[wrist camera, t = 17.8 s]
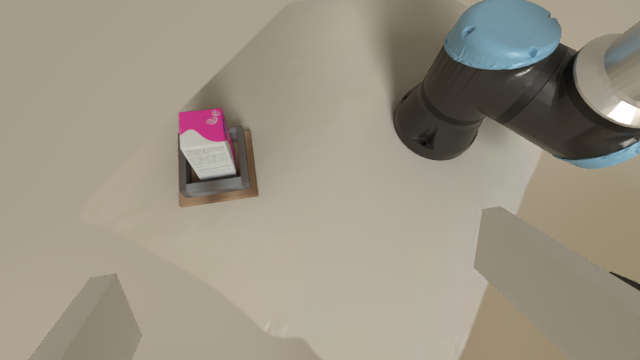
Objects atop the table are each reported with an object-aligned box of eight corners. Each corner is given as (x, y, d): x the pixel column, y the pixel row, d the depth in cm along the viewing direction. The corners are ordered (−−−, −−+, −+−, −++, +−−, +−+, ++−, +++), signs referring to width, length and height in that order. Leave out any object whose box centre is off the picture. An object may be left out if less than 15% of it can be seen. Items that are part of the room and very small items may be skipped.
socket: (250, 133, 54) (247, 120, 50) (258, 195, 49) (255, 186, 46) (180, 141, 52) (171, 128, 48) (181, 207, 48) (172, 198, 44)
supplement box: (239, 178, 49) (225, 143, 39) (201, 184, 48) (176, 149, 38) (236, 147, 51) (221, 106, 41) (199, 152, 50) (175, 111, 40)
